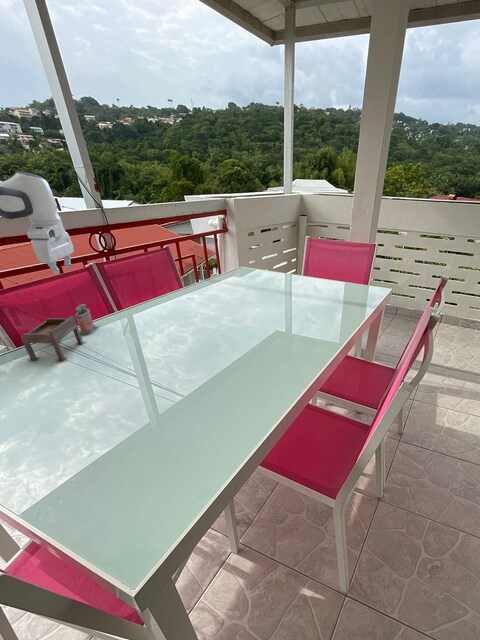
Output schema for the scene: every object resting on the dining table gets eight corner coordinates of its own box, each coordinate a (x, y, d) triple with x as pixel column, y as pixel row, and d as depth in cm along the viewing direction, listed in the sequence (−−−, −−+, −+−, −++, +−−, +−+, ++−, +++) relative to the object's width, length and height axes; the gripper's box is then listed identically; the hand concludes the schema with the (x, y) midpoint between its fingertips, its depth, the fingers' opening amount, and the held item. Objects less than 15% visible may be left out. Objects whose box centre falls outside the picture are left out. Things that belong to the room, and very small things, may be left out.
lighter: (88, 326, 133) (80, 302, 127) (97, 326, 133) (89, 302, 127) (79, 334, 126) (70, 309, 120) (88, 334, 127) (80, 309, 121)
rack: (31, 360, 108) (17, 331, 103) (54, 342, 120) (43, 315, 114) (63, 360, 109) (51, 332, 104) (83, 342, 121) (73, 316, 115)
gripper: (53, 224, 122) (66, 264, 130) (23, 233, 106) (40, 277, 113) (71, 225, 123) (83, 264, 131) (44, 234, 106) (60, 278, 114)
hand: (63, 270), depth 122 cm, fingers open, 8 cm apart
